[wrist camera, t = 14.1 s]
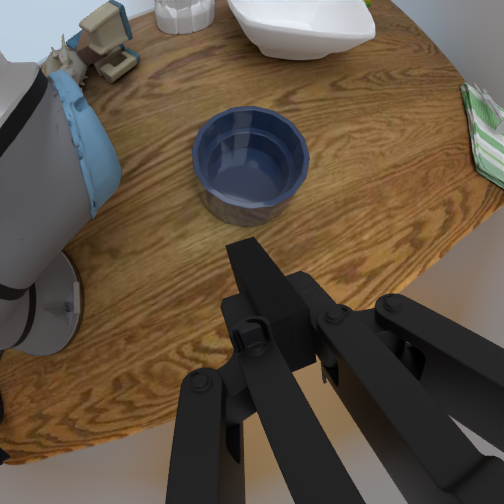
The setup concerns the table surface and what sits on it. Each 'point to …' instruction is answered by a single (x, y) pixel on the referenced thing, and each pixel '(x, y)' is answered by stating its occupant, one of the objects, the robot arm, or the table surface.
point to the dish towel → (484, 135)
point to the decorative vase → (184, 15)
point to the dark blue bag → (0, 453)
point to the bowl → (304, 26)
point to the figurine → (493, 109)
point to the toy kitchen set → (108, 40)
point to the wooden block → (87, 50)
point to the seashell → (66, 64)
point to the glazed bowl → (249, 164)
